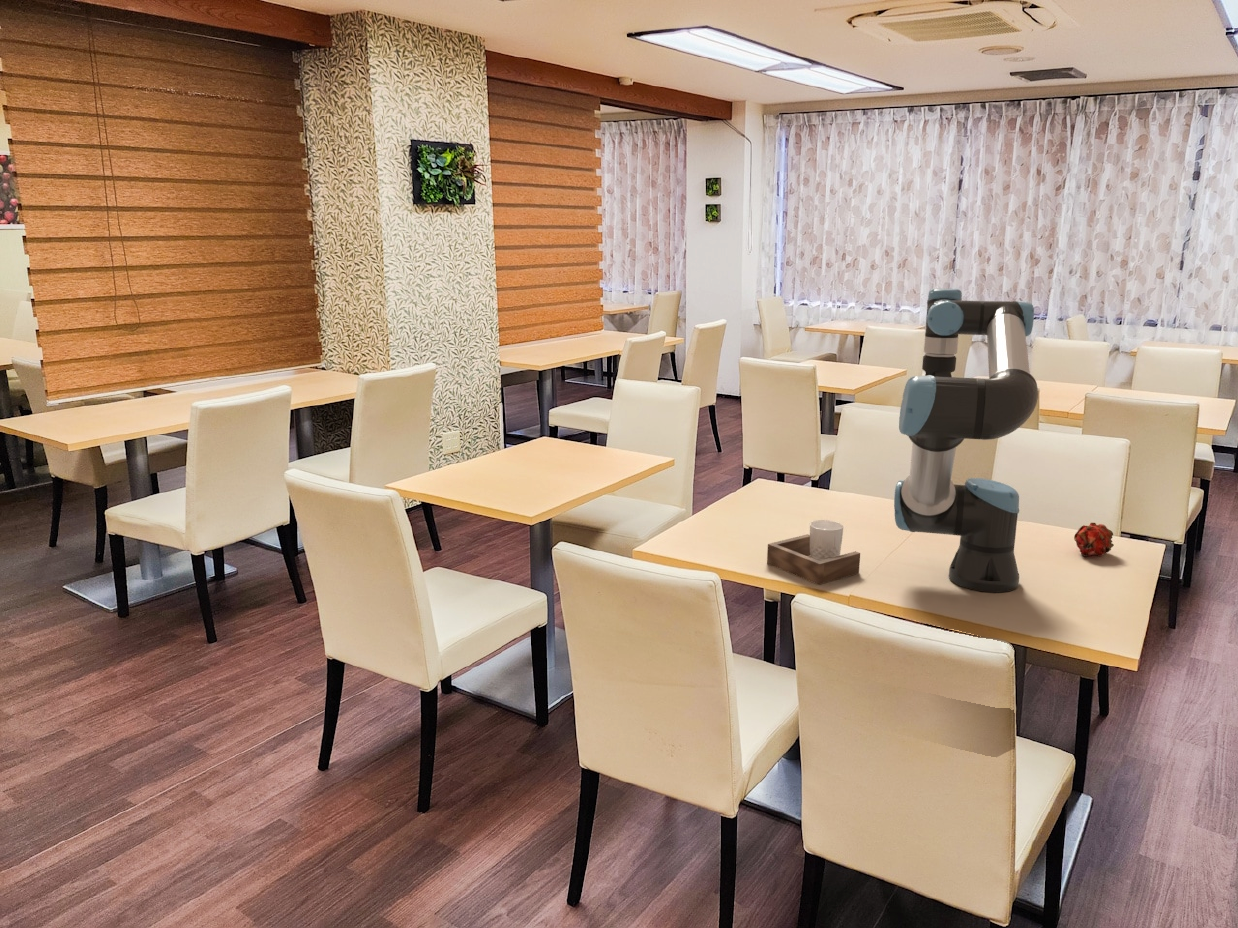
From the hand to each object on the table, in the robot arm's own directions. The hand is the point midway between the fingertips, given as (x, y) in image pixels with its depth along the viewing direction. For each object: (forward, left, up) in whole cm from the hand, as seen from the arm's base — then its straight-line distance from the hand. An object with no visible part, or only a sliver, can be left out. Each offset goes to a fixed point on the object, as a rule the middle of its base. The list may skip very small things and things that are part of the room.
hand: (931, 451), depth 227 cm
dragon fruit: (-24, -35, -27) cm, 50 cm away
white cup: (+8, +26, -27) cm, 38 cm away
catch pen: (+8, +30, -26) cm, 41 cm away
